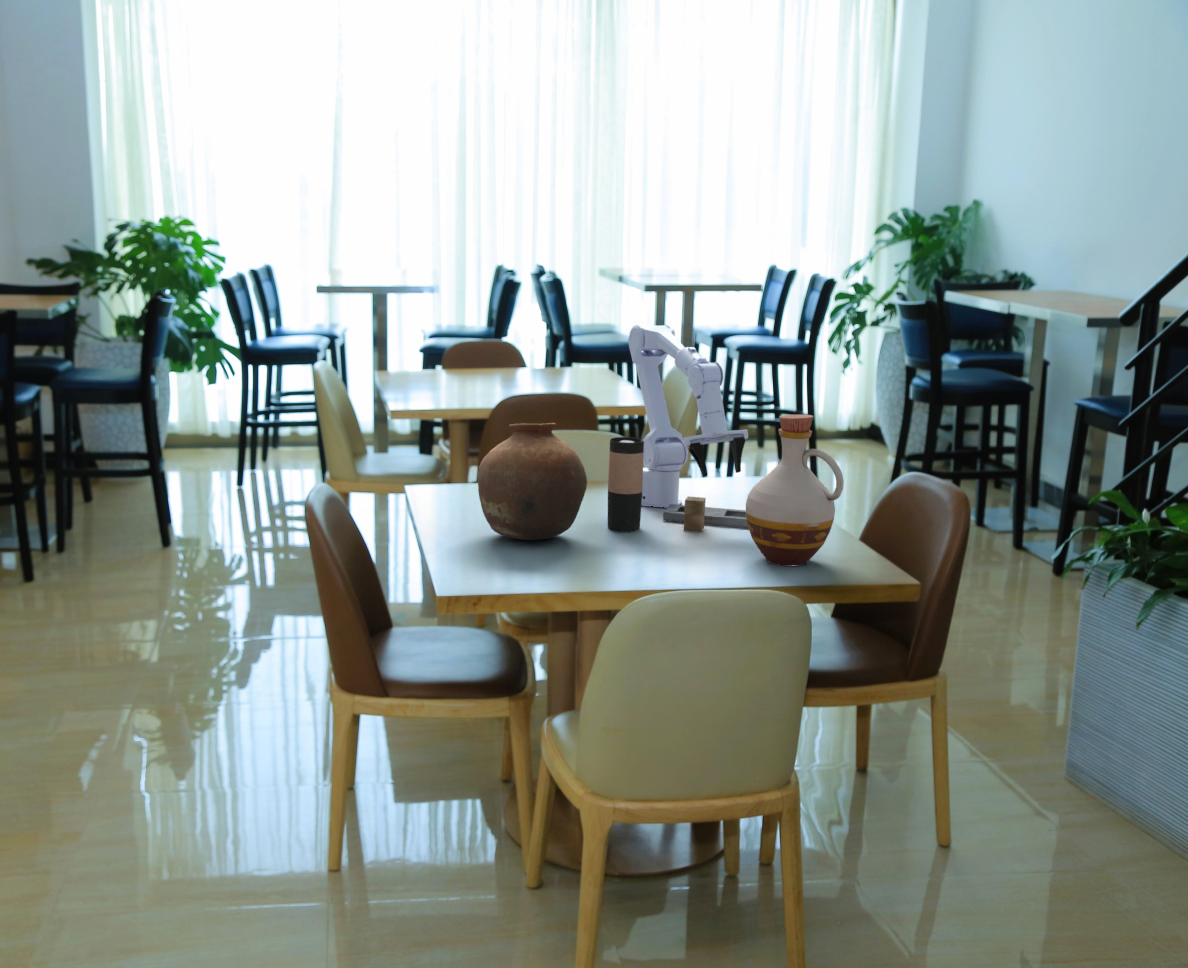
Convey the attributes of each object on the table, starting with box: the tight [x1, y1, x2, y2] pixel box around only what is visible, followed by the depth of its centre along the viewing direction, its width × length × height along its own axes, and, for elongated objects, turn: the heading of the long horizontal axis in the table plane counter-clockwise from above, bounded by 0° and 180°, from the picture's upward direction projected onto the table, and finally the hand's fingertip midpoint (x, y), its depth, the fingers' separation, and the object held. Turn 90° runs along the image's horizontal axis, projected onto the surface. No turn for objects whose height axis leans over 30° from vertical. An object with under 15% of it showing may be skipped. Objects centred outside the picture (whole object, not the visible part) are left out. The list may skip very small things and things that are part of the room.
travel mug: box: [607, 436, 644, 533], centre depth 262 cm, size 8×8×20 cm
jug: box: [745, 414, 845, 566], centre depth 238 cm, size 20×18×30 cm
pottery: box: [477, 422, 588, 541], centre depth 251 cm, size 23×23×25 cm
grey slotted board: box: [662, 504, 749, 529], centre depth 274 cm, size 22×9×2 cm, turn 76°
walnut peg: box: [683, 496, 706, 533], centre depth 265 cm, size 4×4×7 cm
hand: (721, 474), depth 266 cm, fingers open, 7 cm apart
